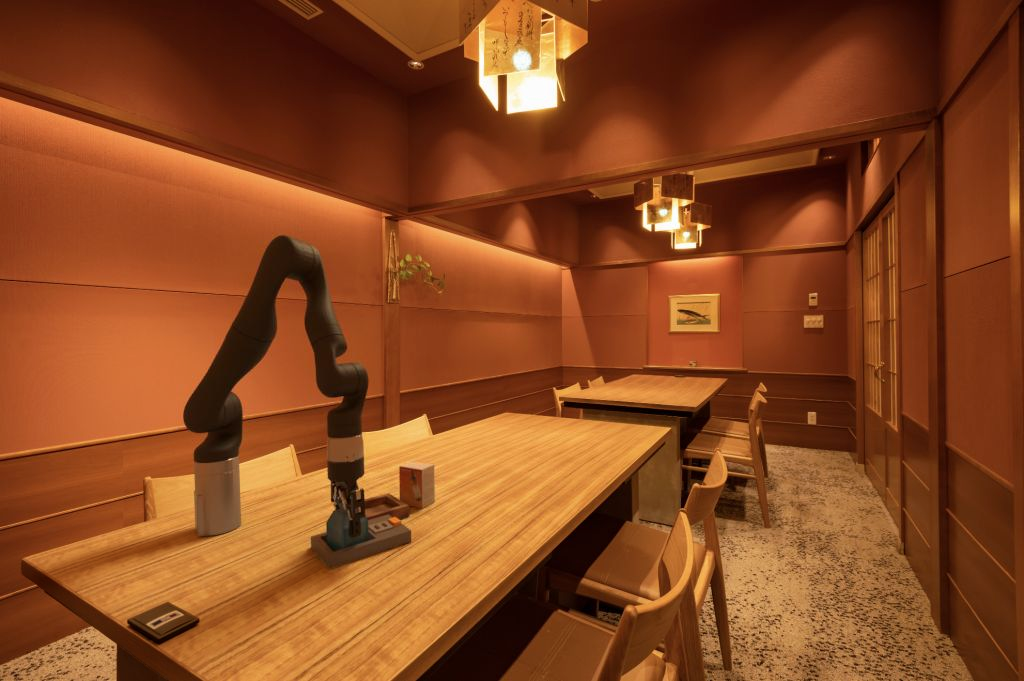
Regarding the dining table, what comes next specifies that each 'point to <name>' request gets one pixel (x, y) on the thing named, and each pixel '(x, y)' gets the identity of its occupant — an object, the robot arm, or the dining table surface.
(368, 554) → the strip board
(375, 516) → the walnut tray
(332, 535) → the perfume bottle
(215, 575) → the dining table surface
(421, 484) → the small box
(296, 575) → the dining table surface
